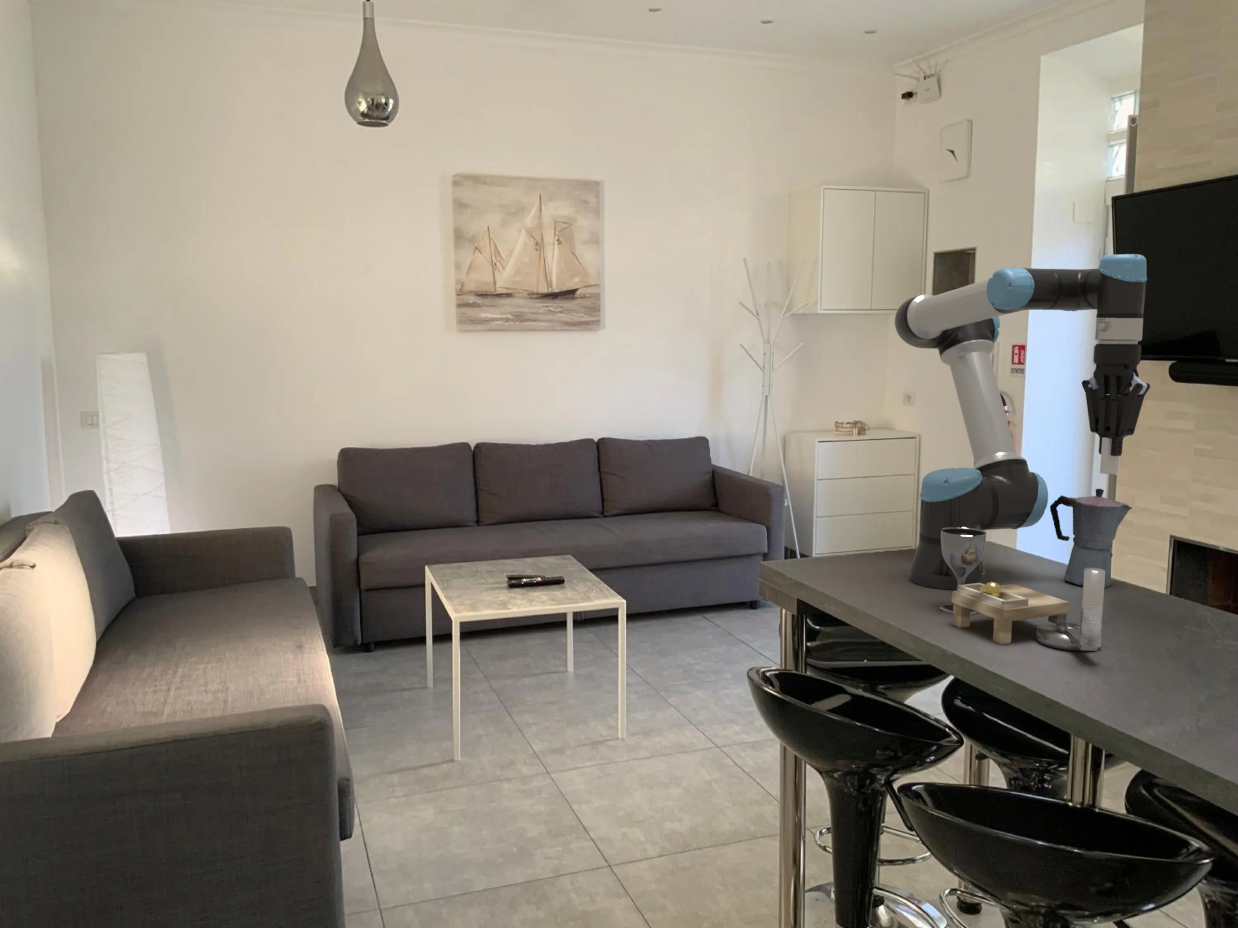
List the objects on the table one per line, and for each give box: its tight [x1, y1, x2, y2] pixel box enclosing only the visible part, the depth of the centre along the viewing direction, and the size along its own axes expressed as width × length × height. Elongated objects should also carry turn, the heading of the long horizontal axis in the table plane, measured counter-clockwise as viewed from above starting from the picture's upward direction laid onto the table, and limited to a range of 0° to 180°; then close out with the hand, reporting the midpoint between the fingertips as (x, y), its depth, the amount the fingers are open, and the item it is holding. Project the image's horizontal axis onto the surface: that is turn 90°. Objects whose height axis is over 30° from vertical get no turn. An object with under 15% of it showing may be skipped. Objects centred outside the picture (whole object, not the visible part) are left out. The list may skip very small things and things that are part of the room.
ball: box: [983, 581, 1001, 598], centre depth 171 cm, size 3×3×3 cm
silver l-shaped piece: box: [1035, 568, 1105, 652], centre depth 162 cm, size 16×10×15 cm, turn 173°
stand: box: [951, 583, 1071, 645], centre depth 173 cm, size 13×14×7 cm
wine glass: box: [939, 527, 987, 616], centre depth 185 cm, size 8×8×15 cm
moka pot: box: [1049, 488, 1133, 588], centre depth 205 cm, size 10×15×20 cm, turn 78°
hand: (1108, 473), depth 180 cm, fingers closed
